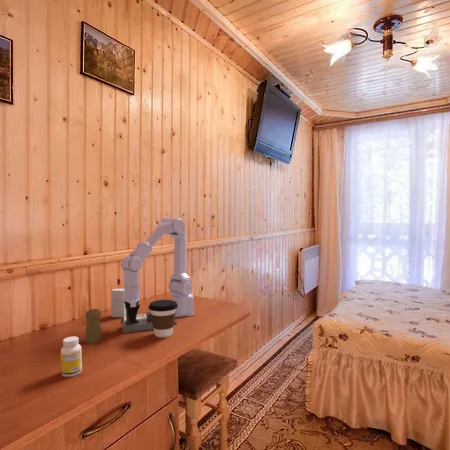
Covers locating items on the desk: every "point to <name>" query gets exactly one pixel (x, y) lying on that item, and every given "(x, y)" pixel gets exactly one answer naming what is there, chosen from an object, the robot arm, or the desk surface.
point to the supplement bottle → (71, 357)
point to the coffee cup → (163, 317)
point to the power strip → (140, 324)
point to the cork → (93, 326)
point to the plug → (128, 319)
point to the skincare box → (117, 303)
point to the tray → (138, 316)
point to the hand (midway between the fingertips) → (132, 320)
